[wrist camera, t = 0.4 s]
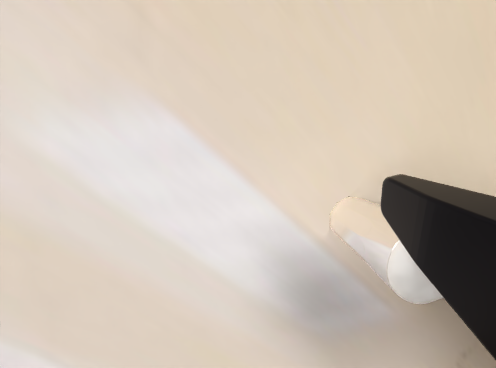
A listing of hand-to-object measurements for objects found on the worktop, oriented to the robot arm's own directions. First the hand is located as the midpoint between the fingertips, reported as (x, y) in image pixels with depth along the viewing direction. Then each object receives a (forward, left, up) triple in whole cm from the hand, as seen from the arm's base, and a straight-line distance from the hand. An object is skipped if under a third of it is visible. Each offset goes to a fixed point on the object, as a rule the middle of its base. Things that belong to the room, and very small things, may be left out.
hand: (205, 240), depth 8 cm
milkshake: (+1, -14, -16) cm, 21 cm away
